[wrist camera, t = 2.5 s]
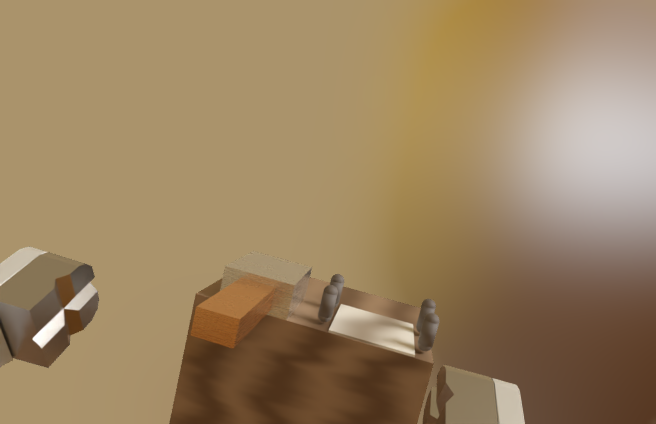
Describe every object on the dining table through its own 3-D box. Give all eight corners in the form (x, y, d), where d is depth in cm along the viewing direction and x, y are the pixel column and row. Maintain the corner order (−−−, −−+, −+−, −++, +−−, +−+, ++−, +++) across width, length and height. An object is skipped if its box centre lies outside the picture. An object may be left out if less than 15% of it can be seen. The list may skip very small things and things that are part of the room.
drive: (305, 296, 43) (312, 267, 43) (254, 361, 28) (264, 316, 28) (246, 280, 44) (253, 251, 44) (168, 334, 29) (176, 291, 29)
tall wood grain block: (367, 521, 52) (433, 279, 48) (354, 648, 38) (445, 322, 34) (207, 465, 54) (257, 232, 51) (141, 564, 41) (203, 254, 37)
